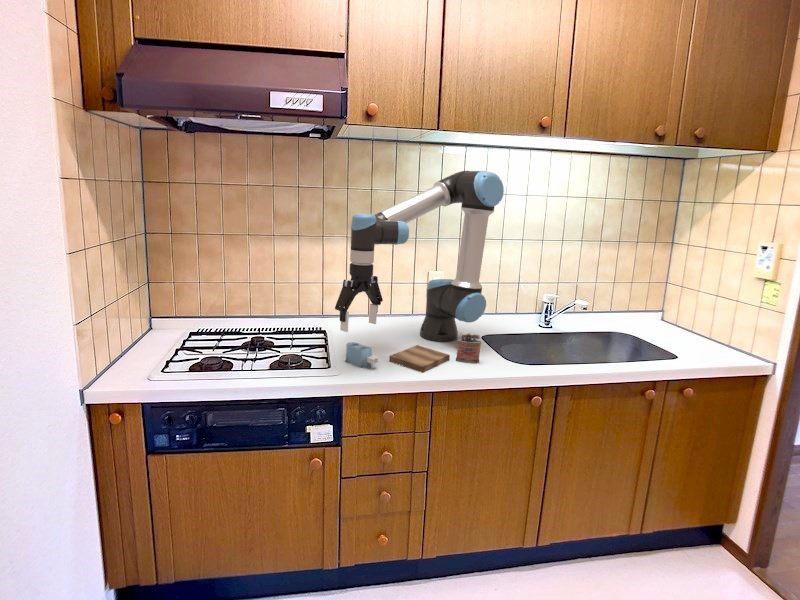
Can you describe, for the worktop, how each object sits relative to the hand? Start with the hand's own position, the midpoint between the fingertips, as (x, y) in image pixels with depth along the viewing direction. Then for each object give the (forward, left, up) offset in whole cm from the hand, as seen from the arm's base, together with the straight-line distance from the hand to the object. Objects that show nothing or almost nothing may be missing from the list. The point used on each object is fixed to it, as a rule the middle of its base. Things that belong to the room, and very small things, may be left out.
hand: (358, 327), depth 164 cm
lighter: (-29, +25, -13) cm, 41 cm away
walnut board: (-17, +13, -13) cm, 25 cm away
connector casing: (0, +1, -13) cm, 13 cm away
